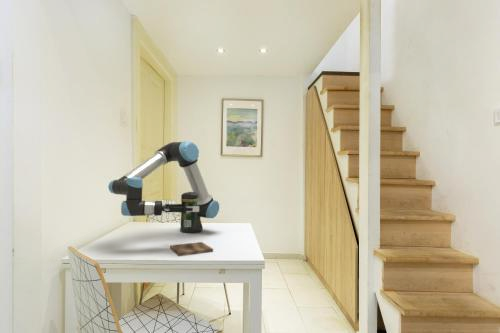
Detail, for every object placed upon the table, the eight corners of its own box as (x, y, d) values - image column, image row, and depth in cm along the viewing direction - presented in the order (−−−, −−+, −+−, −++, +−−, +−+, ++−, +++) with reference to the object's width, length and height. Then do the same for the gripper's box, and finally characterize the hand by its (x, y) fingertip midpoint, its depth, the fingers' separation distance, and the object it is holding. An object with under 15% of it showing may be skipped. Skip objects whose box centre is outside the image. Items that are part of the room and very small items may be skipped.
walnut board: (201, 244, 171) (201, 241, 171) (212, 251, 157) (213, 248, 157) (170, 248, 162) (170, 245, 162) (179, 256, 148) (179, 253, 148)
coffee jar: (185, 224, 165) (186, 190, 166) (199, 225, 164) (200, 191, 164) (178, 228, 156) (179, 192, 156) (192, 229, 154) (193, 192, 155)
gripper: (154, 212, 166) (196, 211, 171) (152, 219, 145) (199, 218, 151) (155, 198, 166) (196, 198, 172) (152, 203, 145) (200, 203, 151)
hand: (198, 207), depth 161 cm, fingers closed on coffee jar, 9 cm apart
